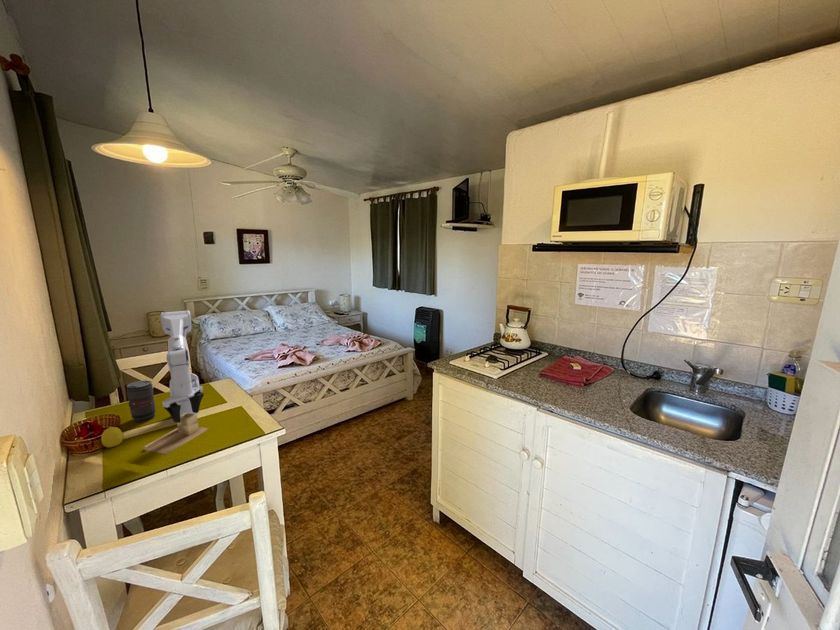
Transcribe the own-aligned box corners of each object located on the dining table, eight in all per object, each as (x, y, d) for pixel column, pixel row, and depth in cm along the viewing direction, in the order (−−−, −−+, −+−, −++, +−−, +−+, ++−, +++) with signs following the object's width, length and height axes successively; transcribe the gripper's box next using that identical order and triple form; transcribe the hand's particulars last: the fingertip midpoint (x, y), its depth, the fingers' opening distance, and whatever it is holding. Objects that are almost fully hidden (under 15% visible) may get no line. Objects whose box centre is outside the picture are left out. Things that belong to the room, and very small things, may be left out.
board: (144, 453, 117) (142, 446, 116) (188, 428, 133) (187, 422, 132) (167, 458, 114) (166, 450, 114) (210, 432, 130) (209, 425, 130)
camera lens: (146, 423, 137) (140, 388, 134) (126, 423, 137) (120, 387, 134) (162, 413, 145) (156, 380, 142) (143, 413, 145) (137, 379, 142)
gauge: (178, 432, 127) (175, 415, 126) (188, 427, 131) (185, 410, 129) (189, 434, 126) (186, 417, 124) (198, 429, 130) (196, 412, 128)
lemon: (107, 454, 116) (102, 432, 115) (101, 449, 119) (96, 428, 118) (127, 446, 121) (123, 425, 119) (121, 442, 124) (117, 421, 122)
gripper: (171, 391, 117) (177, 428, 119) (207, 376, 130) (211, 409, 133) (155, 389, 118) (161, 425, 121) (192, 374, 132) (197, 407, 135)
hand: (186, 417), depth 127 cm, fingers open, 7 cm apart
